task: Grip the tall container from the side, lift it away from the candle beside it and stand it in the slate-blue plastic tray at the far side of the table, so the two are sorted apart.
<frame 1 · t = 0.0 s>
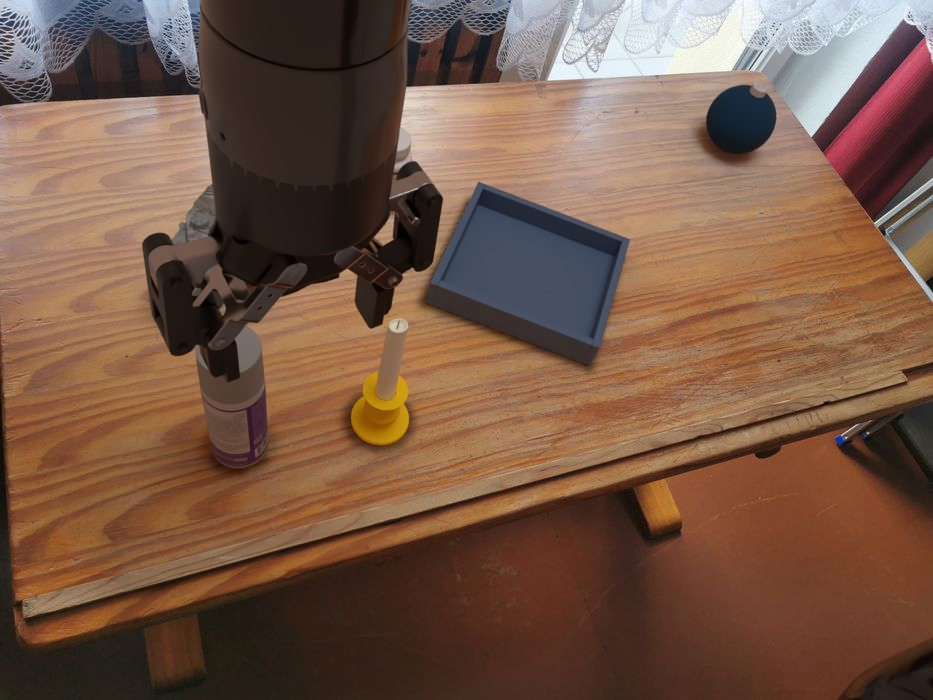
hand: (300, 340, 44), 25 cm above the table, tool pointing down, fingers open, 8 cm apart
camera: (233, 275, 76), on the table
tray: (527, 279, 82), on the table
pill bottle: (383, 196, 85), on the table
christmas ornament: (724, 146, 102), on the table
container: (240, 444, 66), on the table
candle: (379, 420, 70), on the table
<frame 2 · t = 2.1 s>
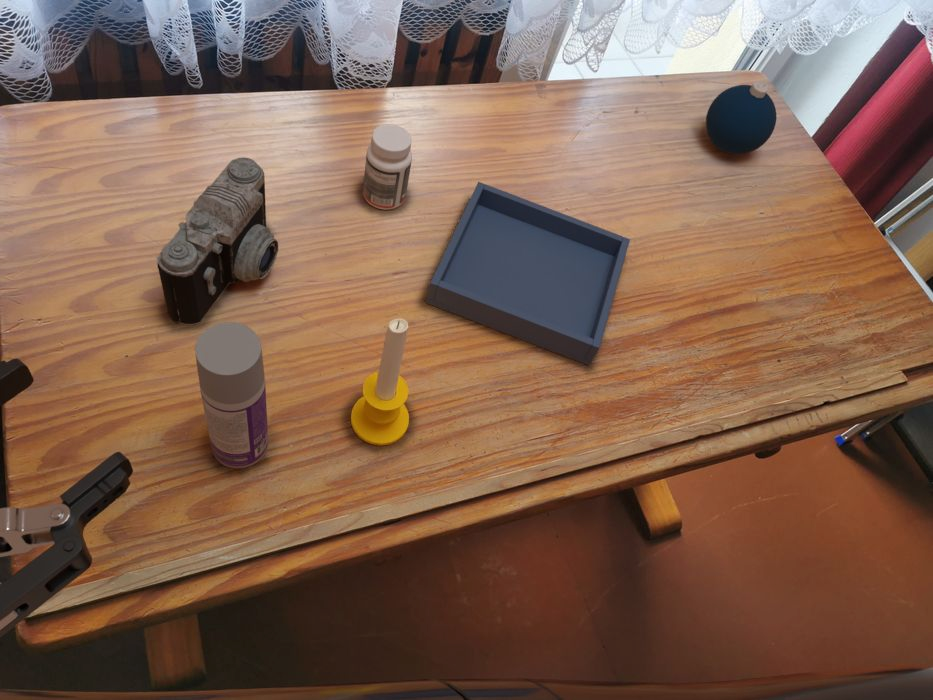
hand: (75, 414, 44), 20 cm above the table, tool horizontal, fingers open, 8 cm apart
nothing on the table moved.
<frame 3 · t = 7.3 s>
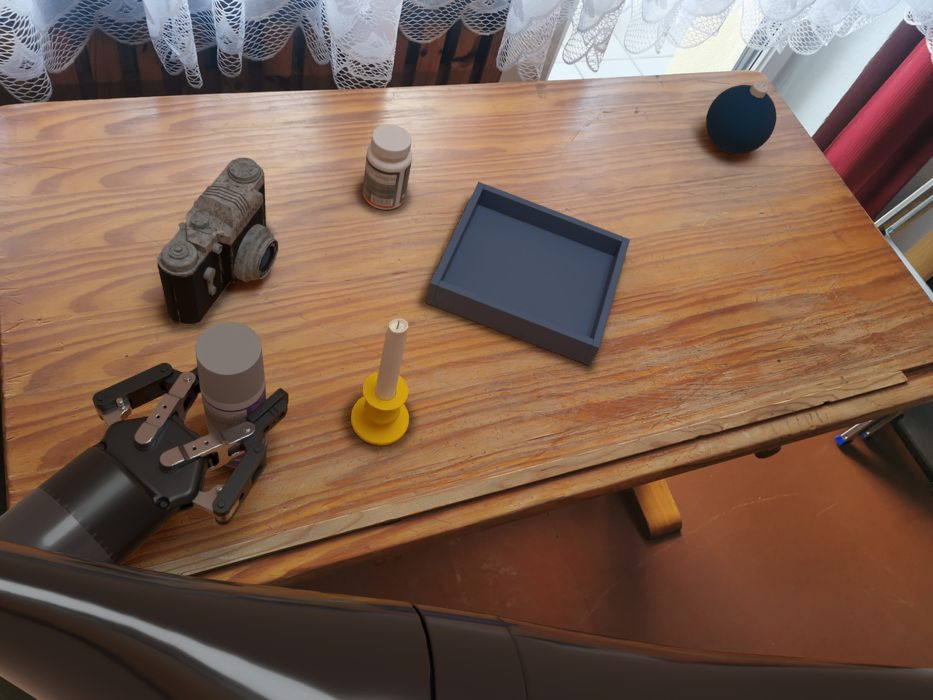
hand: (259, 375, 61), 8 cm above the table, tool horizontal, fingers closed on container, 4 cm apart
container: (240, 444, 66), on the table, touching gripper
everything else where it was.
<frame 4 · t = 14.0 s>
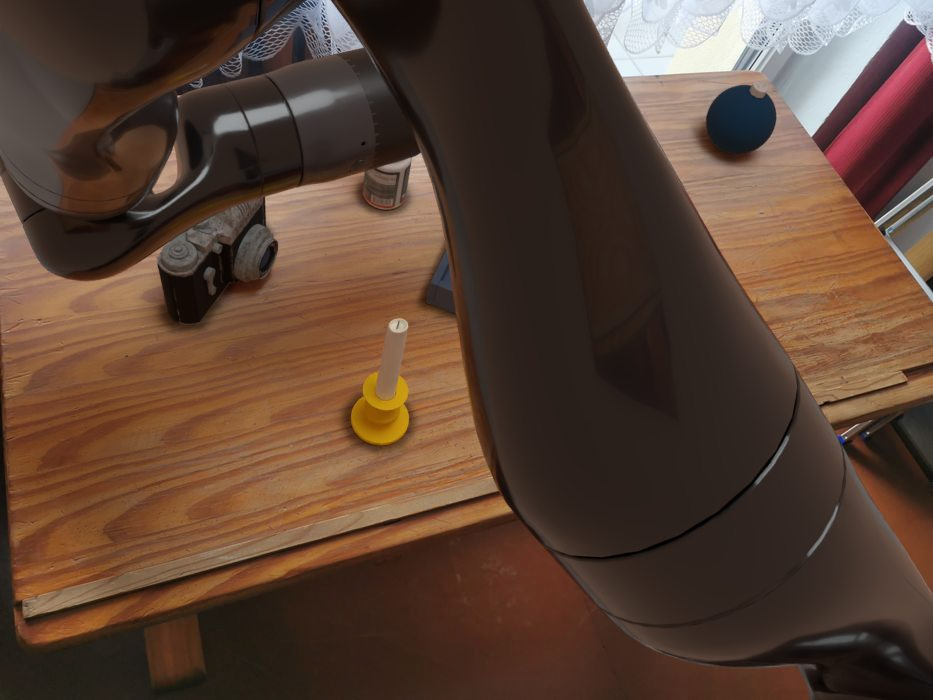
hand: (545, 63, 58), 27 cm above the table, tool horizontal, fingers closed on container, 4 cm apart
container: (492, 154, 63), point 19 cm above the table, touching gripper
everything else where it was.
when the fingers open (9 cm above the table, at t = 20.7 s): container stays where it is, resting on tray.
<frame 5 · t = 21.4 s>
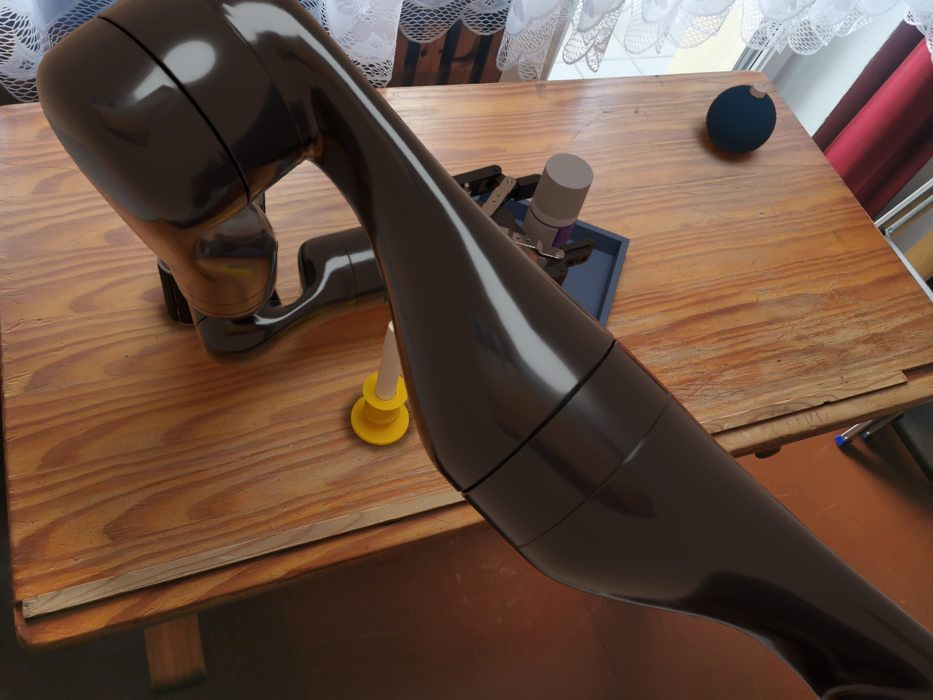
hand: (568, 214, 75), 9 cm above the table, tool horizontal, fingers open, 8 cm apart
container: (527, 276, 82), point 1 cm above the table, touching tray
everything else where it was.
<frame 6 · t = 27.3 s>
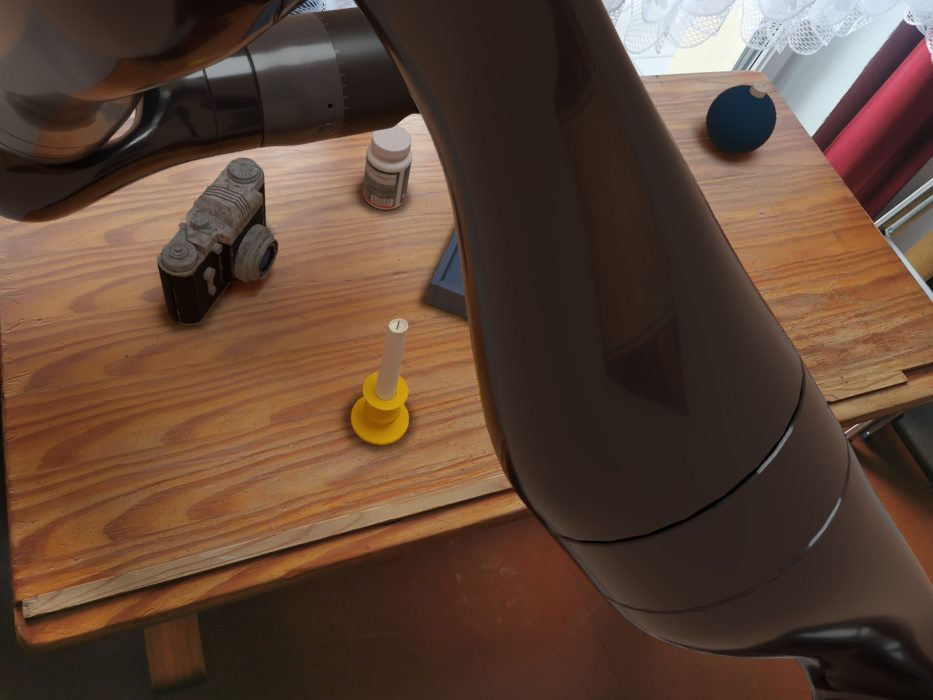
hand: (535, 44, 55), 30 cm above the table, tool horizontal, fingers open, 8 cm apart
nothing on the table moved.
at the end: container inside the target area in the tray (0.1 cm from its centre), point 0.6 cm above the tray's base; container tilted 0°; candle moved 0.2 cm from its start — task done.
